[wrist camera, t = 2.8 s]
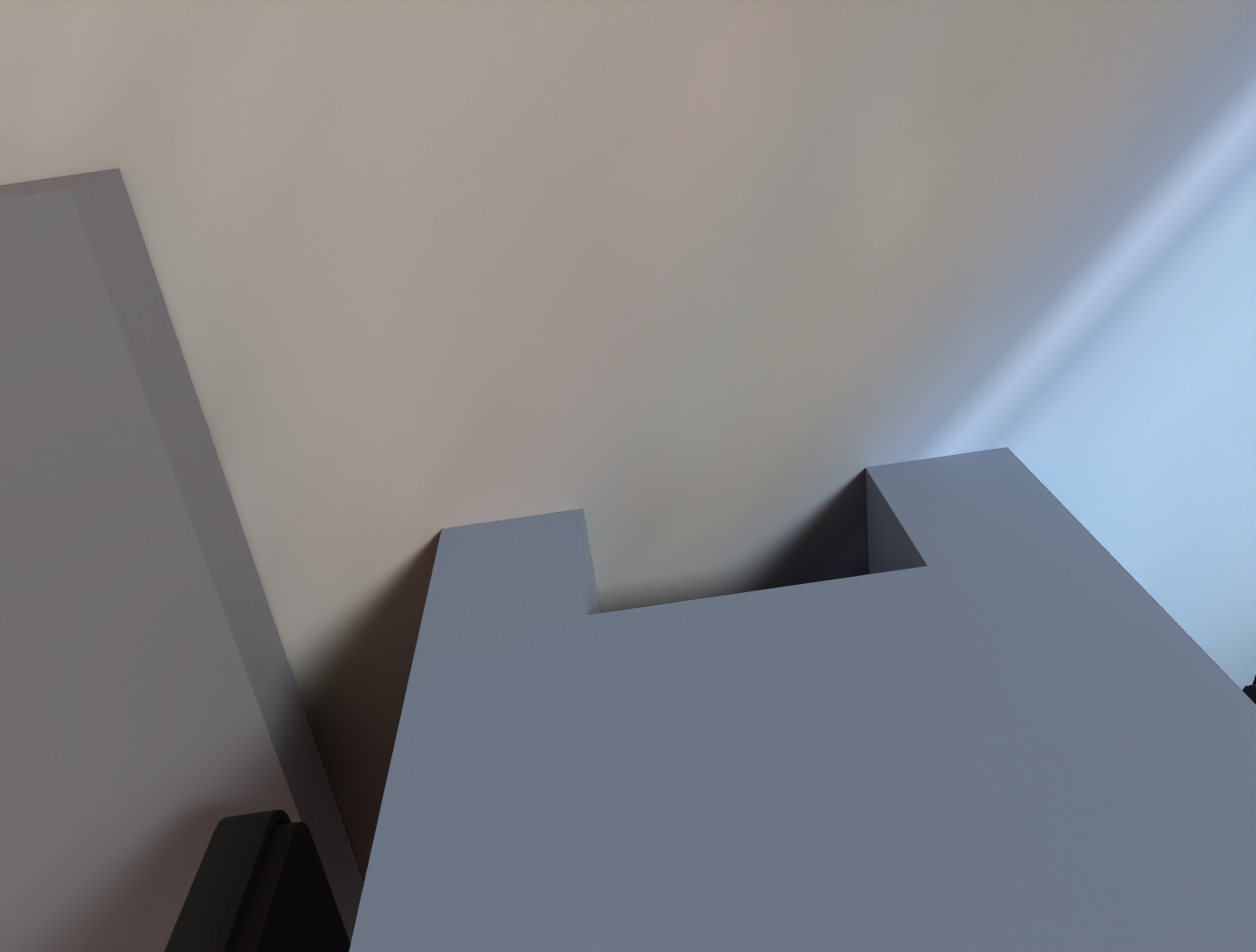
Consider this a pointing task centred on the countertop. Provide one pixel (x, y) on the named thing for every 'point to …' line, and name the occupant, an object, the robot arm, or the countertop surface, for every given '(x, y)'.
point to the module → (818, 750)
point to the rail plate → (124, 602)
